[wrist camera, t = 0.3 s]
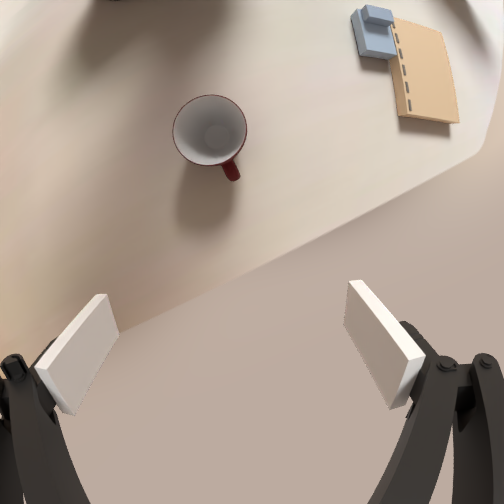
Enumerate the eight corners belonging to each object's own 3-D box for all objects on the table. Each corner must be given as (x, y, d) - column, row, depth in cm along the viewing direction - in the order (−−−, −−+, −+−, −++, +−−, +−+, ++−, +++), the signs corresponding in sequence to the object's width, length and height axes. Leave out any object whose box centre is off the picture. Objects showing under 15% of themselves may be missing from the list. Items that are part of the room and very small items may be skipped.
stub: (350, 16, 30) (362, 2, 25) (379, 21, 30) (393, 9, 25) (359, 55, 32) (373, 44, 27) (388, 59, 32) (404, 50, 27)
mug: (266, 159, 38) (274, 159, 28) (218, 189, 39) (210, 199, 30) (226, 99, 35) (221, 81, 25) (178, 130, 36) (158, 122, 27)
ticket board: (380, 22, 30) (388, 15, 27) (432, 36, 30) (441, 32, 27) (397, 115, 36) (408, 113, 33) (449, 123, 36) (460, 122, 33)
